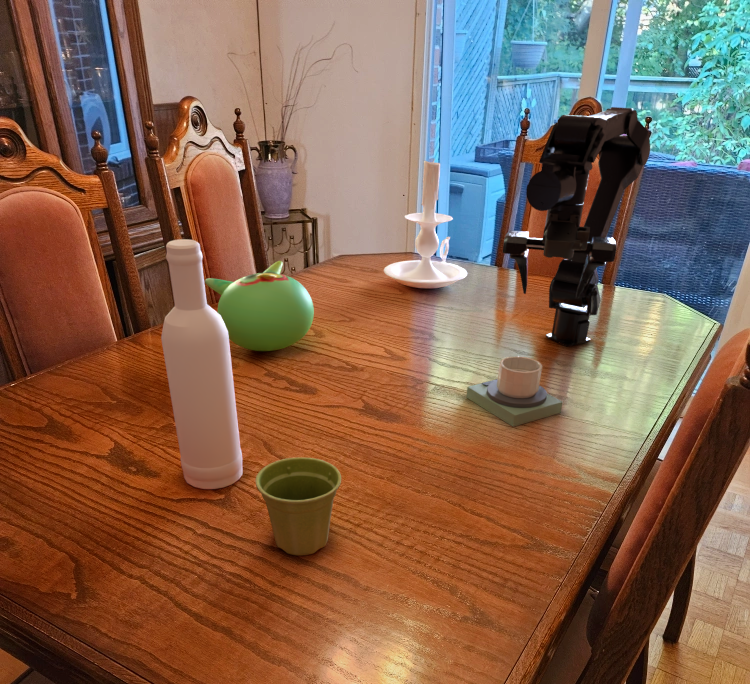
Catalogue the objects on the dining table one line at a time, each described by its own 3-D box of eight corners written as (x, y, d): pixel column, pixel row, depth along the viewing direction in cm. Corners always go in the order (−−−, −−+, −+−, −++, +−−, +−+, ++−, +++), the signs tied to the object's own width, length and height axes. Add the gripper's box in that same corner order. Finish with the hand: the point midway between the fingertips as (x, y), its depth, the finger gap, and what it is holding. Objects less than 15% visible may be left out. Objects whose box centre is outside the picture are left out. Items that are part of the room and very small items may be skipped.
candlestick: (483, 276, 173) (496, 155, 157) (447, 301, 154) (458, 168, 139) (411, 265, 180) (416, 149, 165) (369, 288, 162) (370, 160, 146)
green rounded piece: (241, 370, 119) (232, 288, 111) (207, 340, 131) (198, 264, 122) (329, 352, 127) (327, 274, 119) (290, 325, 139) (286, 253, 131)
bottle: (176, 467, 91) (137, 238, 74) (232, 454, 94) (206, 231, 78) (194, 496, 85) (155, 254, 69) (252, 481, 89) (229, 247, 72)
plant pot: (263, 518, 82) (258, 457, 77) (340, 516, 82) (339, 455, 77) (259, 567, 74) (252, 502, 69) (343, 564, 75) (343, 500, 70)
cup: (488, 387, 108) (491, 360, 106) (519, 379, 111) (522, 353, 109) (515, 402, 104) (519, 375, 101) (546, 393, 107) (551, 367, 104)
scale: (466, 397, 111) (467, 382, 110) (511, 385, 116) (514, 370, 114) (513, 426, 103) (515, 410, 101) (560, 412, 107) (563, 397, 106)
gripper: (505, 207, 106) (494, 304, 115) (627, 215, 103) (605, 314, 111) (511, 195, 115) (500, 286, 124) (623, 202, 112) (603, 295, 120)
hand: (550, 295), depth 120 cm, fingers open, 9 cm apart
